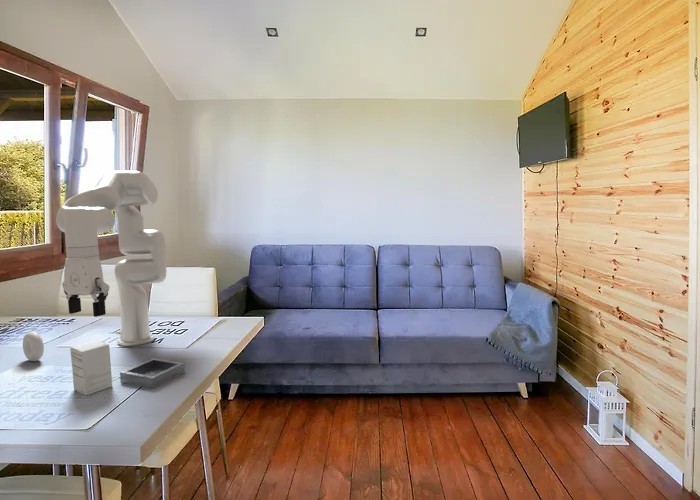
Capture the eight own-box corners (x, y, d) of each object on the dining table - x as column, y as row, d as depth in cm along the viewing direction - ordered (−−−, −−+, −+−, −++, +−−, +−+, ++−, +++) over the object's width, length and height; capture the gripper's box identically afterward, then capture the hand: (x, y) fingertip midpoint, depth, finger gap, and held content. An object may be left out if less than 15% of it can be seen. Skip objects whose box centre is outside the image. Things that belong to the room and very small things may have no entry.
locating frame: (120, 382, 125) (120, 372, 124) (154, 367, 136) (153, 358, 136) (152, 388, 120) (152, 378, 120) (184, 372, 132) (184, 363, 131)
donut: (47, 362, 142) (44, 332, 141) (35, 365, 139) (32, 335, 138) (33, 356, 147) (31, 328, 146) (22, 359, 144) (19, 330, 143)
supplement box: (100, 381, 126) (97, 339, 125) (113, 386, 122) (110, 343, 120) (72, 390, 120) (69, 346, 119) (85, 396, 116) (81, 351, 114)
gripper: (47, 253, 116) (52, 314, 118) (92, 255, 110) (96, 320, 112) (74, 250, 123) (78, 308, 125) (117, 252, 117) (121, 313, 119)
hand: (87, 314), depth 118 cm, fingers open, 9 cm apart
